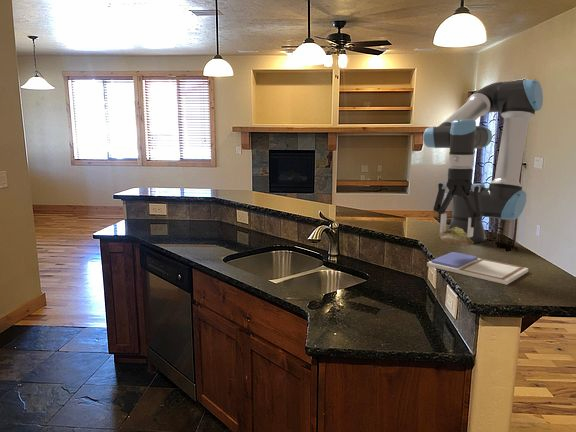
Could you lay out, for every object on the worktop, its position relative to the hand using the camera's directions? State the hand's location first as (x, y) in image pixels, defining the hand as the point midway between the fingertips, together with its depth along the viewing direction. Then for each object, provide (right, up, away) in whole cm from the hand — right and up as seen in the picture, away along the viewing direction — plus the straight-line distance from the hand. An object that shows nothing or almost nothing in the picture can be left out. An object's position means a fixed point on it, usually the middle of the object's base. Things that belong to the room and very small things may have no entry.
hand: (456, 234), depth 146 cm
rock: (-1, -3, 0) cm, 3 cm away
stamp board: (+5, -11, -3) cm, 13 cm away
